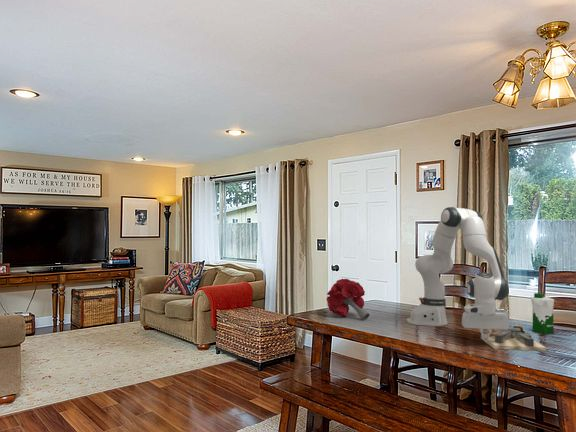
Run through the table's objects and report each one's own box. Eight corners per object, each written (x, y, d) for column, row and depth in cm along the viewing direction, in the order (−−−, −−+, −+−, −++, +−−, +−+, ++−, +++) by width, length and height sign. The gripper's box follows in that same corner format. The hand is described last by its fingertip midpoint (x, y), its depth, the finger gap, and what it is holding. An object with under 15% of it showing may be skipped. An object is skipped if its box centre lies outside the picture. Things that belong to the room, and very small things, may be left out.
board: (494, 348, 187) (494, 345, 187) (480, 338, 204) (480, 335, 204) (546, 351, 184) (546, 347, 184) (528, 340, 202) (528, 337, 202)
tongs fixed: (505, 336, 202) (505, 327, 202) (517, 337, 201) (517, 327, 201) (520, 346, 186) (520, 335, 186) (533, 346, 185) (533, 336, 185)
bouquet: (371, 327, 254) (339, 297, 274) (385, 297, 245) (351, 268, 264) (348, 335, 240) (316, 303, 260) (362, 303, 231) (328, 273, 251)
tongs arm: (504, 336, 201) (504, 330, 201) (510, 337, 199) (510, 331, 199) (495, 341, 192) (495, 335, 192) (501, 342, 190) (501, 336, 190)
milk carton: (539, 329, 224) (539, 292, 225) (556, 333, 216) (556, 295, 217) (529, 331, 220) (529, 293, 221) (546, 335, 212) (546, 296, 213)
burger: (499, 335, 212) (499, 320, 212) (513, 333, 217) (513, 318, 218) (522, 341, 201) (522, 325, 201) (536, 338, 207) (536, 323, 207)
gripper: (505, 307, 196) (506, 337, 195) (460, 306, 198) (460, 335, 198) (511, 310, 189) (511, 340, 189) (464, 308, 192) (464, 339, 191)
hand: (485, 338), depth 193 cm, fingers closed
